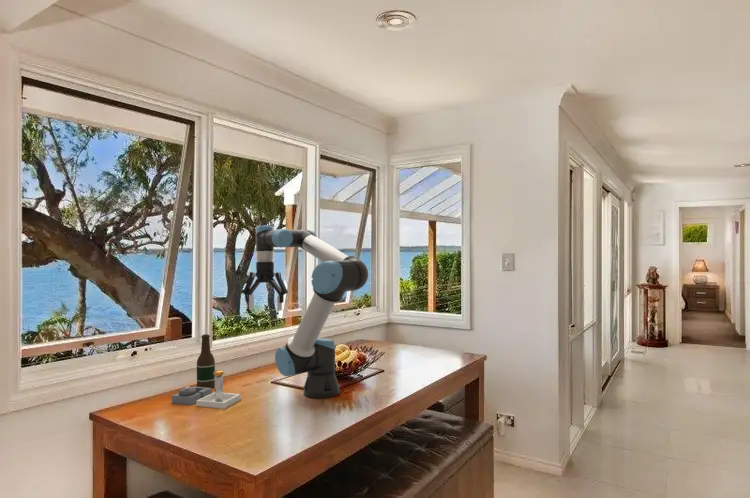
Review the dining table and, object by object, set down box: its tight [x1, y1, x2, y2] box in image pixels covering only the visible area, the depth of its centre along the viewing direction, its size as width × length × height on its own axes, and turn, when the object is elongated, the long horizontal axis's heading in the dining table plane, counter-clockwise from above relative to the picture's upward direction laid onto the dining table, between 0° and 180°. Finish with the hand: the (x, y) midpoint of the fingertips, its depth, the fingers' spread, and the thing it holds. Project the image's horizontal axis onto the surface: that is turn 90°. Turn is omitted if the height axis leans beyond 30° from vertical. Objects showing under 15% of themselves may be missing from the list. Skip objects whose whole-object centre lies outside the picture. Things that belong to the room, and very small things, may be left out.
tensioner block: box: [171, 386, 213, 406], centre depth 196 cm, size 13×9×7 cm
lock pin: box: [214, 369, 225, 402], centre depth 191 cm, size 4×4×12 cm
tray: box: [195, 391, 242, 412], centre depth 191 cm, size 12×12×3 cm
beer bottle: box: [196, 333, 216, 389], centre depth 213 cm, size 8×8×24 cm
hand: (265, 310), depth 211 cm, fingers open, 13 cm apart
